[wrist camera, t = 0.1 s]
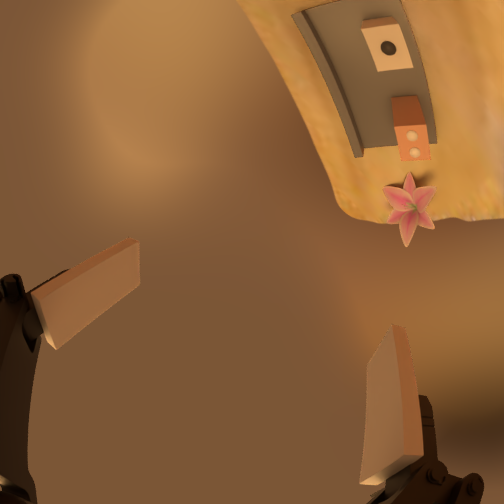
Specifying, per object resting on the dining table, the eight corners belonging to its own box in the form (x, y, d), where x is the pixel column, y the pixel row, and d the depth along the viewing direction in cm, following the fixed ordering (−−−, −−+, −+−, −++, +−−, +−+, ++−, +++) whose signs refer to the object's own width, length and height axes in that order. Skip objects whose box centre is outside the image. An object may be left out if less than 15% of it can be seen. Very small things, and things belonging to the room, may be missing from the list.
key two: (390, 97, 29) (394, 127, 25) (416, 95, 27) (426, 125, 23) (398, 126, 32) (401, 162, 28) (422, 125, 30) (431, 161, 26)
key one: (362, 20, 21) (360, 29, 17) (391, 16, 19) (399, 24, 15) (376, 53, 25) (377, 72, 20) (404, 49, 22) (413, 68, 18)
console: (298, 12, 25) (290, 15, 23) (394, -9, 16) (397, -9, 14) (356, 144, 40) (354, 157, 38) (435, 138, 32) (439, 152, 30)
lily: (443, 165, 36) (427, 182, 32) (451, 226, 40) (436, 251, 37) (388, 167, 46) (365, 183, 42) (400, 221, 51) (379, 243, 47)
